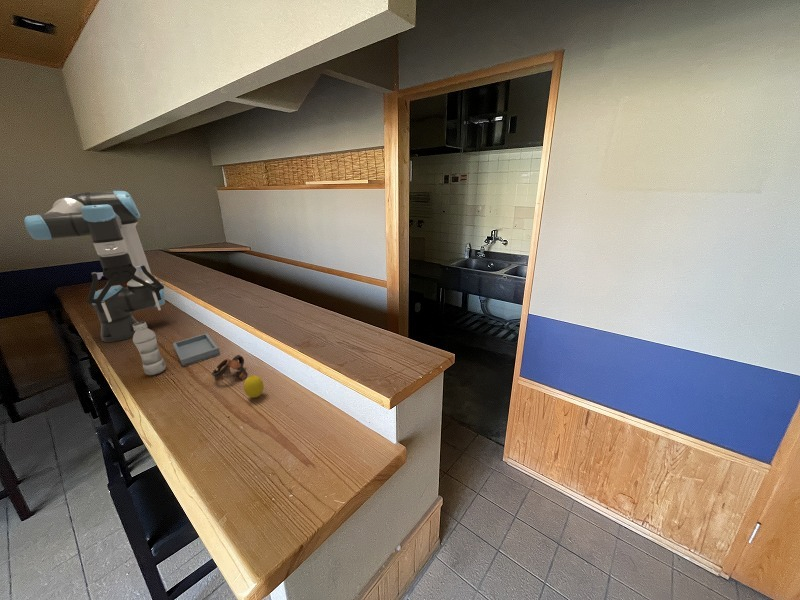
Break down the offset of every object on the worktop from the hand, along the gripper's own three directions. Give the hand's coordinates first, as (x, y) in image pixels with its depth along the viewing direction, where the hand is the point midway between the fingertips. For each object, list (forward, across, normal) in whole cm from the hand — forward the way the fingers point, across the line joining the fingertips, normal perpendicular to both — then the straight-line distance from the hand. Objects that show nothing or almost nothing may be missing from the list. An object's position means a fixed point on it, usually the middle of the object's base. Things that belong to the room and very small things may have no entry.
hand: (135, 314), depth 111 cm
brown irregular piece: (+24, +20, -24) cm, 40 cm away
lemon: (+24, +22, -43) cm, 54 cm away
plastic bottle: (+24, 0, 0) cm, 24 cm away
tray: (+23, +14, +7) cm, 28 cm away
